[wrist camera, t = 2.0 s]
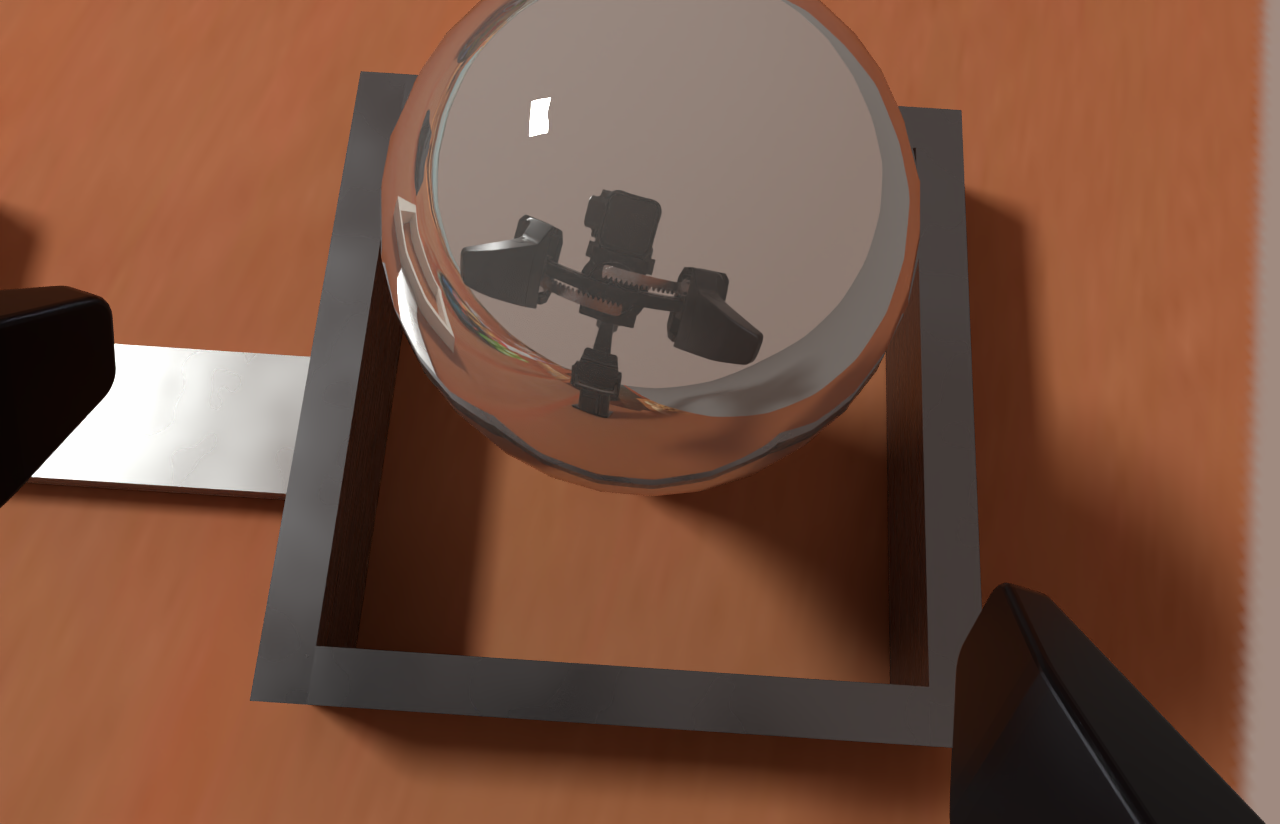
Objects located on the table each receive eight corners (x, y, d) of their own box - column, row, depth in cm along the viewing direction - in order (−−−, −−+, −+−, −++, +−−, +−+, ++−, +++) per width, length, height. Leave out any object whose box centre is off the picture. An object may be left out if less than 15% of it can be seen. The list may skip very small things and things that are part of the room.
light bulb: (717, 227, 22) (823, -291, 10) (849, 493, 20) (1162, 235, 8) (439, 332, 21) (205, -101, 9) (551, 621, 19) (436, 533, 7)
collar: (940, 740, 18) (987, 749, 16) (299, 697, 18) (249, 700, 16) (924, 172, 22) (961, 110, 20) (389, 137, 22) (360, 71, 20)
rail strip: (307, 501, 20) (294, 494, 19) (-110, 473, 20) (-140, 465, 19) (329, 369, 20) (318, 357, 20) (-71, 343, 20) (-98, 330, 20)
